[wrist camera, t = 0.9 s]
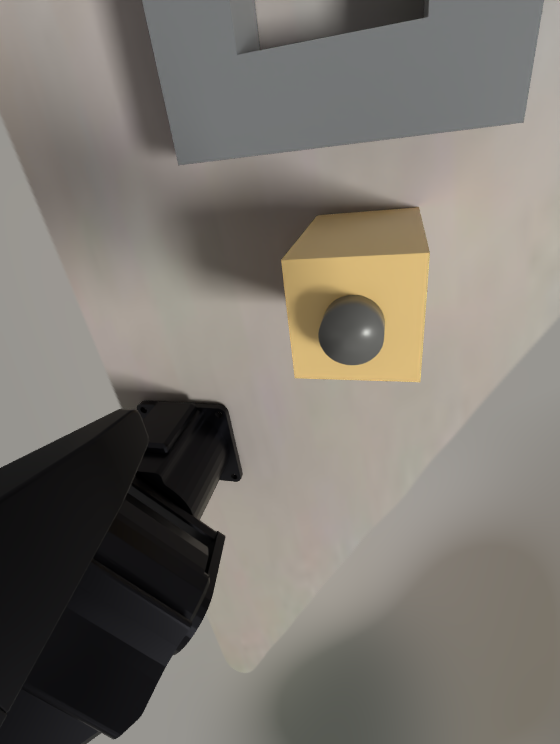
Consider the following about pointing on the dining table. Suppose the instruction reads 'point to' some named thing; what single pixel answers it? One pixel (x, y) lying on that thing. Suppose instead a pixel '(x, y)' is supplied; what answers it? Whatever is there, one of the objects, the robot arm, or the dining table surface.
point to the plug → (358, 296)
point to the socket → (338, 77)
